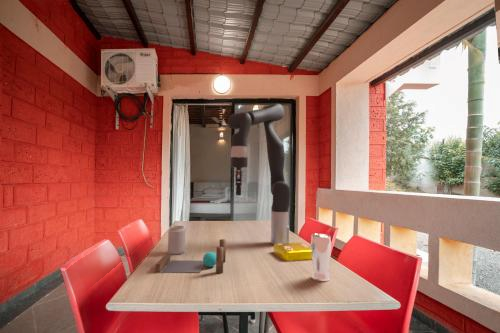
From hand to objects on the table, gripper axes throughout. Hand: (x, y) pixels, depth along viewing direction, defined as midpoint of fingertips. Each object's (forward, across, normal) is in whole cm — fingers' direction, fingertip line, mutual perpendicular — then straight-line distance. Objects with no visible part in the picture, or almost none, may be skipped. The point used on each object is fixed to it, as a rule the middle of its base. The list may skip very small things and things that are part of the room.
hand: (238, 195), depth 122 cm
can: (+27, -4, -28) cm, 39 cm away
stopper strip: (+27, +15, -28) cm, 42 cm away
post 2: (+27, +21, -6) cm, 35 cm away
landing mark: (+27, +15, -20) cm, 37 cm away
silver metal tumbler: (+27, +26, +30) cm, 48 cm away
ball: (+24, +15, -10) cm, 30 cm away
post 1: (+27, +9, -6) cm, 29 cm away
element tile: (+28, -2, +26) cm, 38 cm away
